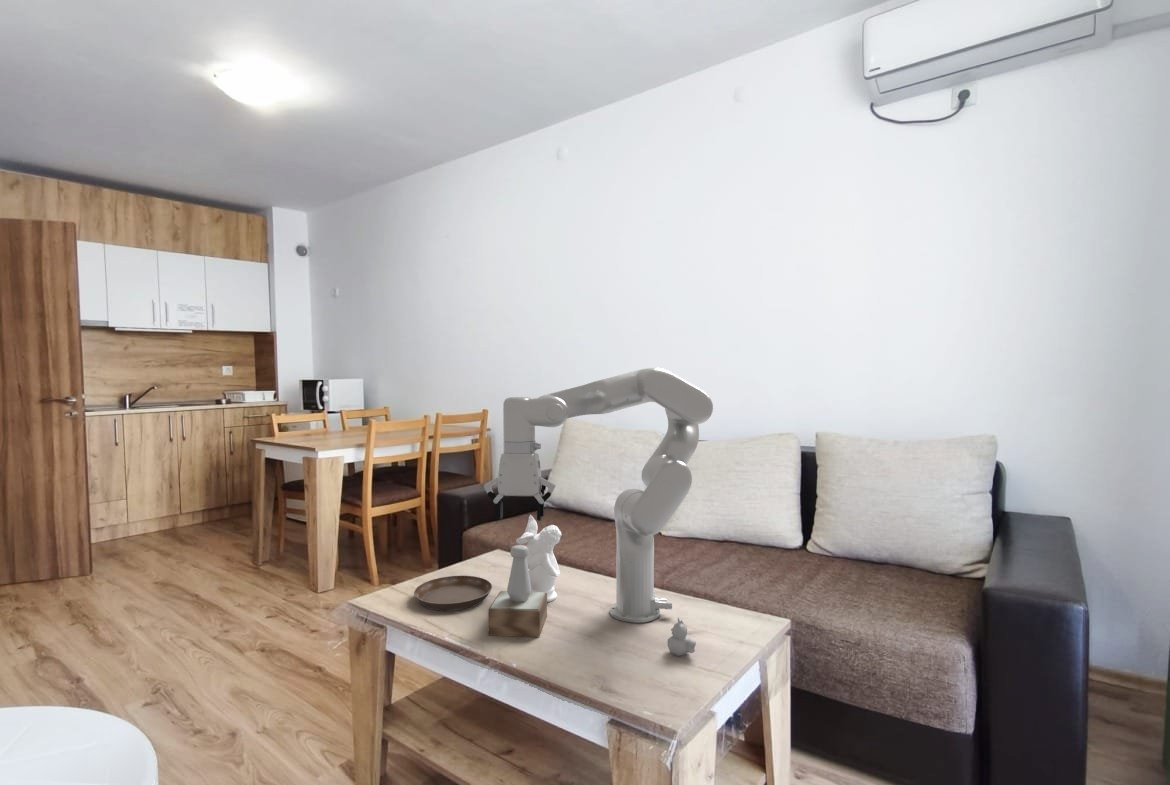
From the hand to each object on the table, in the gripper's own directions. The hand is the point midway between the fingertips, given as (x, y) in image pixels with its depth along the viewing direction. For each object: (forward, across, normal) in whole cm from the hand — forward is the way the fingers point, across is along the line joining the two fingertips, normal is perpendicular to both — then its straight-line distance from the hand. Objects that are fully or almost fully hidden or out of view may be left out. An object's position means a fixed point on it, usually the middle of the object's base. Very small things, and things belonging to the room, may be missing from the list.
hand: (519, 519), depth 143 cm
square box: (+26, 0, 0) cm, 26 cm away
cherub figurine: (+26, -1, -18) cm, 32 cm away
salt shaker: (+20, 0, 0) cm, 20 cm away
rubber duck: (+26, -38, +12) cm, 48 cm away
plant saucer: (+26, +21, -16) cm, 37 cm away
